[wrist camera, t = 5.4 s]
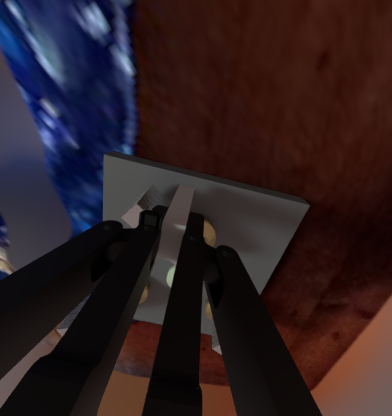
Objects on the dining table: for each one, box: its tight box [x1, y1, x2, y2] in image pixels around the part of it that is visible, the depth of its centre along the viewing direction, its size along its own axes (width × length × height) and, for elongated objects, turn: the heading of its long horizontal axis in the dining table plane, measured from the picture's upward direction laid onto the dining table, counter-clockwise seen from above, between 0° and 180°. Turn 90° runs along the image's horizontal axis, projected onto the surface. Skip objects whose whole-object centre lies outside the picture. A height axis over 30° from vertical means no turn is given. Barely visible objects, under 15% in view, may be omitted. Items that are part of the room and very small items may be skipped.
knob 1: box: [56, 281, 150, 337], centre depth 23 cm, size 9×4×6 cm, turn 107°
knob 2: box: [121, 184, 216, 266], centre depth 18 cm, size 9×4×6 cm, turn 41°
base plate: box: [103, 151, 310, 335], centre depth 24 cm, size 24×21×3 cm
